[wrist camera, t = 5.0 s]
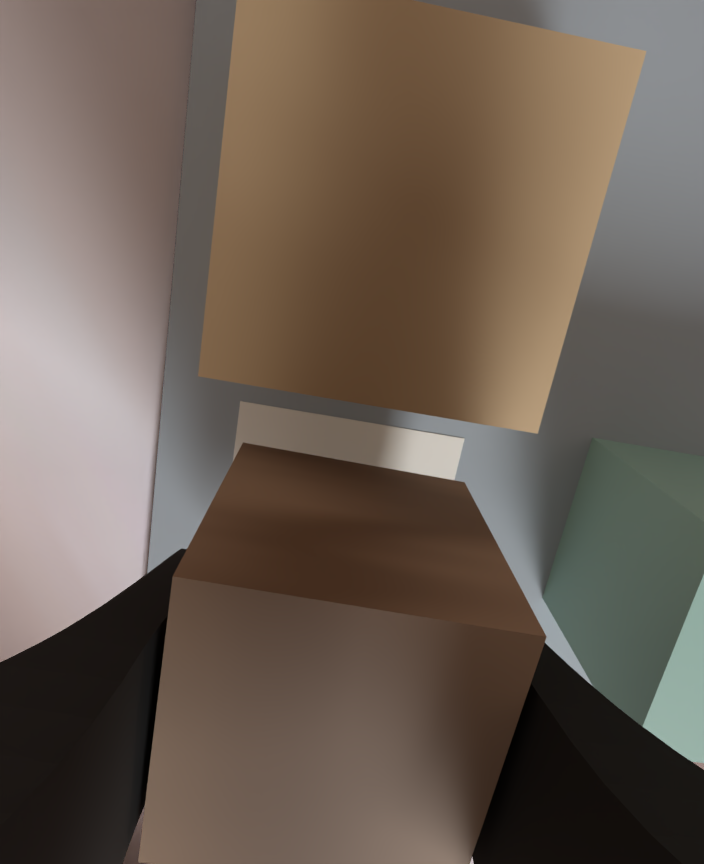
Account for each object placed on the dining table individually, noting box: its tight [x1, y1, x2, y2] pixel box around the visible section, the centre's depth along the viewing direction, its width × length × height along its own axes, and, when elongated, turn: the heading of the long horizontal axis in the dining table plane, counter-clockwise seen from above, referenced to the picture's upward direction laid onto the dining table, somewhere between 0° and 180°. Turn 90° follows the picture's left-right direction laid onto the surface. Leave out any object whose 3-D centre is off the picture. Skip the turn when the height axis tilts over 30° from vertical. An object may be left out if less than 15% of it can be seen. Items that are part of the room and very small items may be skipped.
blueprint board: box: [147, 0, 704, 686], centre depth 15 cm, size 15×22×1 cm
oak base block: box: [198, 0, 646, 434], centre depth 11 cm, size 6×6×4 cm
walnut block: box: [138, 442, 547, 864], centre depth 10 cm, size 4×4×5 cm
